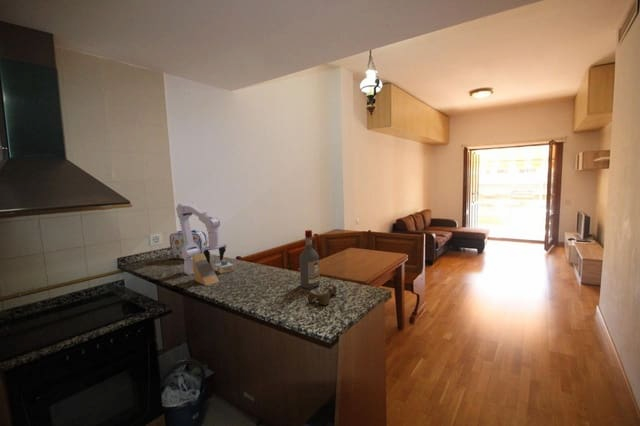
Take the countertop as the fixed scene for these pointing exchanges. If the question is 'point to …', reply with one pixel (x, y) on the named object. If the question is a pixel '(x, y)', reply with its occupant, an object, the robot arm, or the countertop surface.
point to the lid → (224, 264)
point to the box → (224, 269)
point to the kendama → (322, 295)
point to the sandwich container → (203, 270)
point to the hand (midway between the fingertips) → (215, 261)
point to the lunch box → (178, 243)
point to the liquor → (309, 264)
